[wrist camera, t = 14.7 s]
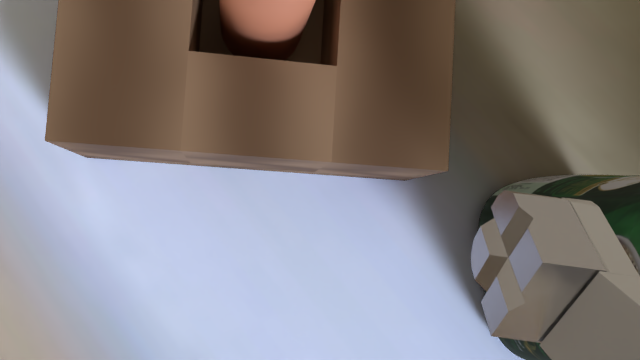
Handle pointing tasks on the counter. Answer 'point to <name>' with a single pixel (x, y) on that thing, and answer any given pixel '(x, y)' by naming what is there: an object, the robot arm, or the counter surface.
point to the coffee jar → (604, 190)
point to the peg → (263, 26)
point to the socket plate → (256, 88)
